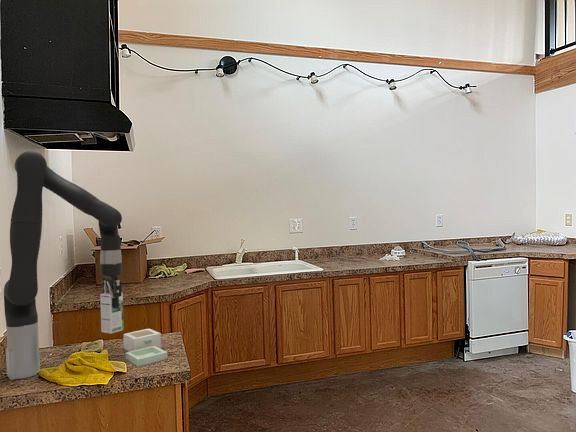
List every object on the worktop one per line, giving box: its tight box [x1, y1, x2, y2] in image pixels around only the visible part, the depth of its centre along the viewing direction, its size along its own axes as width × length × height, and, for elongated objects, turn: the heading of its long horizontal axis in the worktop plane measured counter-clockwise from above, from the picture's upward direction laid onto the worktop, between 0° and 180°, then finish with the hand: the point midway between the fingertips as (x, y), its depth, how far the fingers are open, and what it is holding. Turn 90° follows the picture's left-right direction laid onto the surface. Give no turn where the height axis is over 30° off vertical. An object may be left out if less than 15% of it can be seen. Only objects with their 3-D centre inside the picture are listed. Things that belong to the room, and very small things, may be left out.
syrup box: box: [99, 292, 125, 334], centre depth 167 cm, size 6×6×14 cm
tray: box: [125, 346, 169, 368], centre depth 163 cm, size 11×11×2 cm
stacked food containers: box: [122, 328, 162, 352], centre depth 175 cm, size 11×11×6 cm
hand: (112, 306), depth 167 cm, fingers closed on syrup box, 6 cm apart
